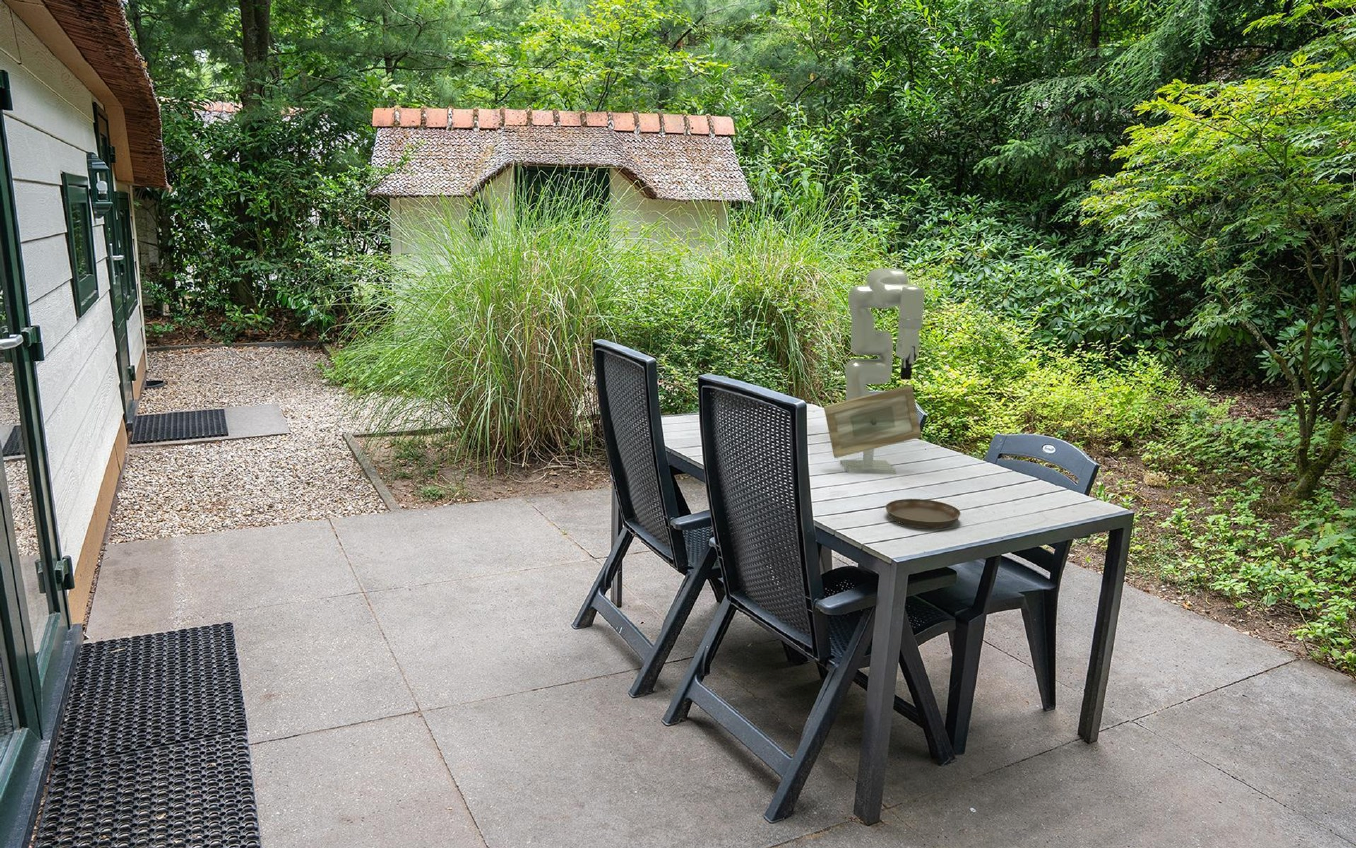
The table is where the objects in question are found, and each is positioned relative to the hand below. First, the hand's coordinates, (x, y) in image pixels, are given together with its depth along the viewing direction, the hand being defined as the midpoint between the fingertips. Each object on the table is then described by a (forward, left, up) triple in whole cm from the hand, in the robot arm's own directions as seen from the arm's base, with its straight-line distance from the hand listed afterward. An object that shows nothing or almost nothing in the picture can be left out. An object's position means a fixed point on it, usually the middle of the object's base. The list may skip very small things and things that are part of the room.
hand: (905, 379), depth 311 cm
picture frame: (0, -8, -23) cm, 25 cm away
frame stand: (-3, -10, -32) cm, 33 cm away
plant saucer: (+53, -9, -32) cm, 63 cm away
